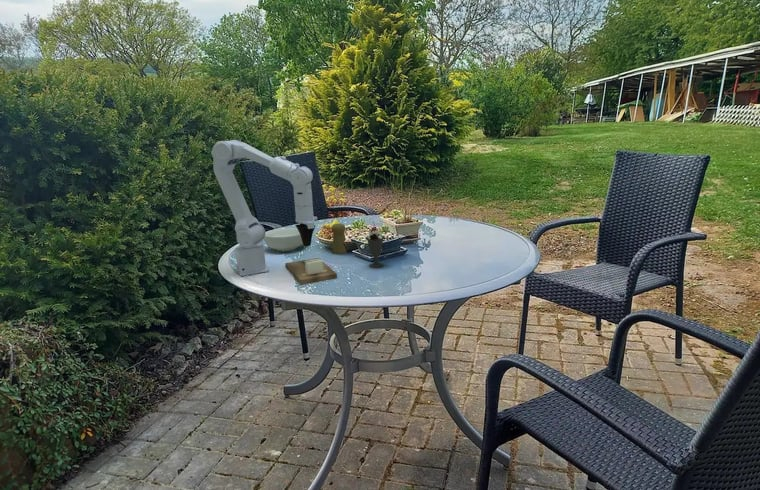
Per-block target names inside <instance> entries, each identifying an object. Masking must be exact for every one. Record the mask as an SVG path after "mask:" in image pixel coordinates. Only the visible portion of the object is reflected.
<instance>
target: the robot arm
mask: <svg viewBox="0 0 760 490" xmlns="http://www.w3.org/2000/svg"><path fill="white" fill-rule="evenodd" d="M210 153H211V156H212V158H213V159H212V160H213V163H212V164H213V168H212V169H213V173H214V175H215V178H216V180H217V182H218V184H219V186H220V189H221V191H222V192H223V193H222V194H223V195H224V198H225V200H226V201H227V204H228V206H229V209H230V210H231V213H232V215H233V218H234V220H235V226H234V231H235V233H236V241H237V243H238V245H240V246H239V247H235V250H234V252H235V260H236V269H237V272H238V273H239V275H240V277H243V276H250V275H255V274H261V273H266V272H269V271H270V270H269V268H268V266H267V264H266V256H265V255H266V254H265V245H264V237H265V232H266V230H265V228H264V226H263V225H262V224H261V223H260V222H259V220H258V218H256V217H255V216H253V215H252V212H251V211H250V208H249V206H248V204H247V201H246V198H245V197H244V195H243V192H242V190H241V188H240V186H239V183H238V181H237V179H236V177H235V174H234V172H233V171H234V169H235V166H236V164H237V163H238V162H239V161H240V160H241V159H249V160H251V161H253V162H255V163H258V164H260V165H262V166H265V167H267V168H269V170H270V173H272V174H273V175H276V176H277V177H280V178H282V179H284V180H286V181H288V182H289V183H290V184H291V185H292V187H293V199H294V212H295V222H296V223H298V224H295V228H297V229H298V231H299V233H300V236H301V239H302V243H303V244H302V245H303V246H304V247H310V246H311V245H312V238H313V234H314V231H315V229H316V225H315V221H316V220H318V217H317V216H314V206H313V205H314V203H313V192H312V183H311V182H312V181H313V177H314V173H313V172H312V170H311V169H310V168H308V167H307V166H306V165H305V166H300V164H299V163H297V162H296V163H294V162H292V161H290V160H287V157H285V156H283V155H282V156H280V155H279V156H276V157H272V156H270V155H269V154H267V153H265V152H263V151H260V150H259V149H257V148H255V147H253V146H251V145H249V144H247V143H245V142H244V141H240V140H238V139H231V140H220V141H216V143H215V144H214V146H213V148H212V150H211V152H210Z"/></svg>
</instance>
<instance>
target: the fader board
mask: <svg viewBox="0 0 760 490" xmlns="http://www.w3.org/2000/svg"><path fill="white" fill-rule="evenodd" d="M314 259H320V257H316V258H310V259H309V258H308V259H303V260H297V261H291V262H285V263H284V264H285V268H286V269H287V271H288V272H289V273H290V275H292V277H293V278H294V279H295V280H296V282H298V284H299V285H300V286H301V285H306V284H312V283H318V282H323V281H328V280H334V279H338V274H337V272H336V271H334V270H333V269H332V268H331V267H330V266H329V265H328V264H326V263H325V262H324V261H323V272H322V273H316V274H310V275H308V274H307V273H306V269H305V261H308V260H314Z"/></svg>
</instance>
